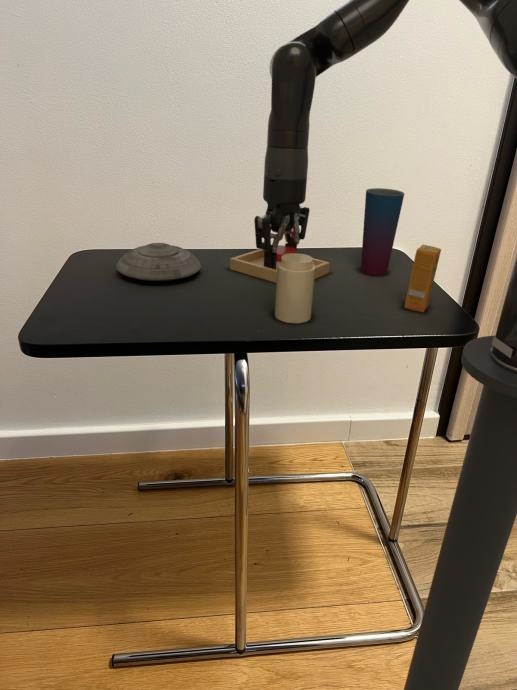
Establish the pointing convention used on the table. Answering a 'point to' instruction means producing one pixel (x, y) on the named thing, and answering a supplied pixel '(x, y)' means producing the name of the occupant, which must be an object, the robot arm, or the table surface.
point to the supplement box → (422, 278)
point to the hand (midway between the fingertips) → (279, 266)
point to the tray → (255, 267)
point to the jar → (294, 288)
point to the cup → (379, 229)
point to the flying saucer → (158, 263)
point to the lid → (284, 251)
